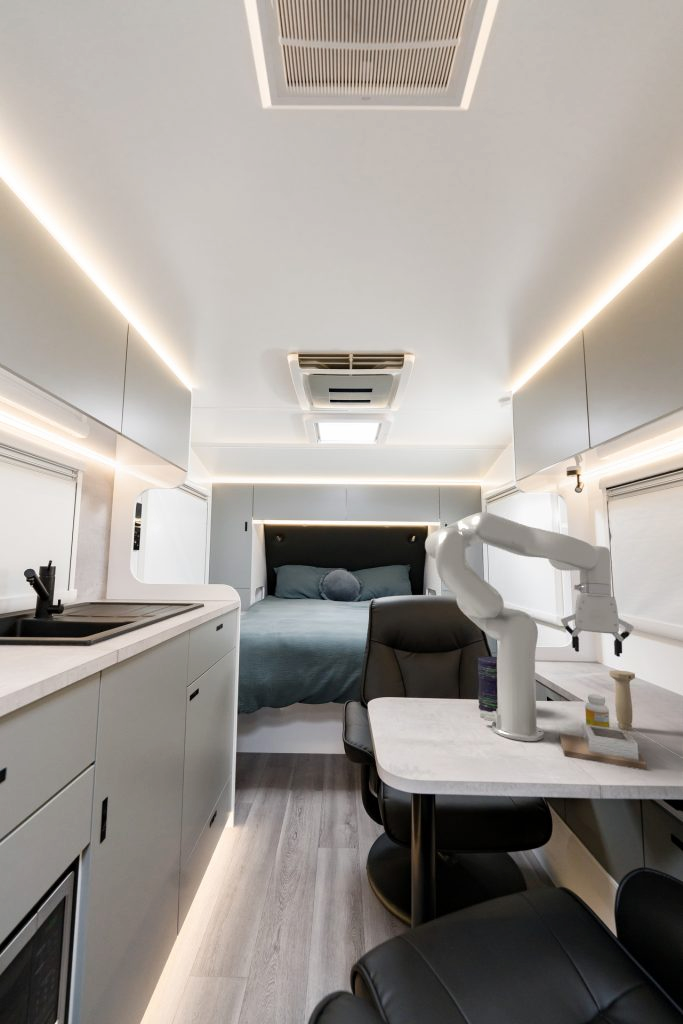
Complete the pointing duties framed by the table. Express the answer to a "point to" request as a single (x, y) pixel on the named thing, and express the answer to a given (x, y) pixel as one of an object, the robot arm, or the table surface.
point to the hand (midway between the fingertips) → (596, 653)
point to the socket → (610, 742)
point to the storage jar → (487, 683)
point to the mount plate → (578, 749)
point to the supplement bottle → (597, 711)
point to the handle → (623, 698)
